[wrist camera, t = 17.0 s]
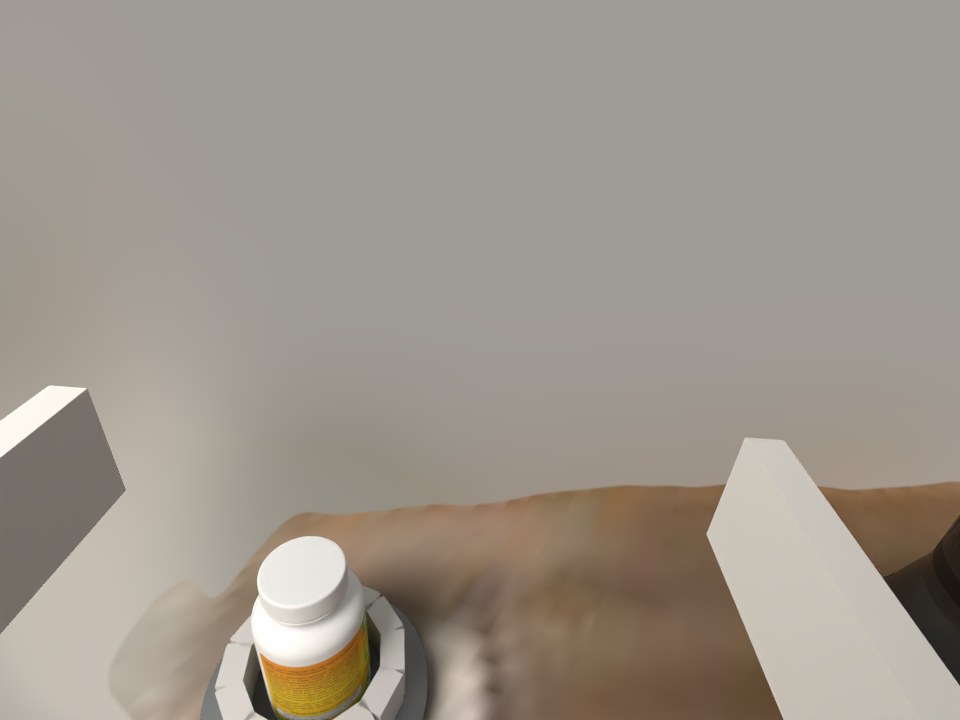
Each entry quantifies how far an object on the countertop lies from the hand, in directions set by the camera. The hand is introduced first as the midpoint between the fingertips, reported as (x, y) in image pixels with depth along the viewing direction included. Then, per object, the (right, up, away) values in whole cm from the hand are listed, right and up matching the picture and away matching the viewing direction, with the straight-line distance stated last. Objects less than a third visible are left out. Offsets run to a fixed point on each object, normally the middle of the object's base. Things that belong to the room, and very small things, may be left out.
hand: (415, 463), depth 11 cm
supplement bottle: (-9, -19, +23) cm, 31 cm away
